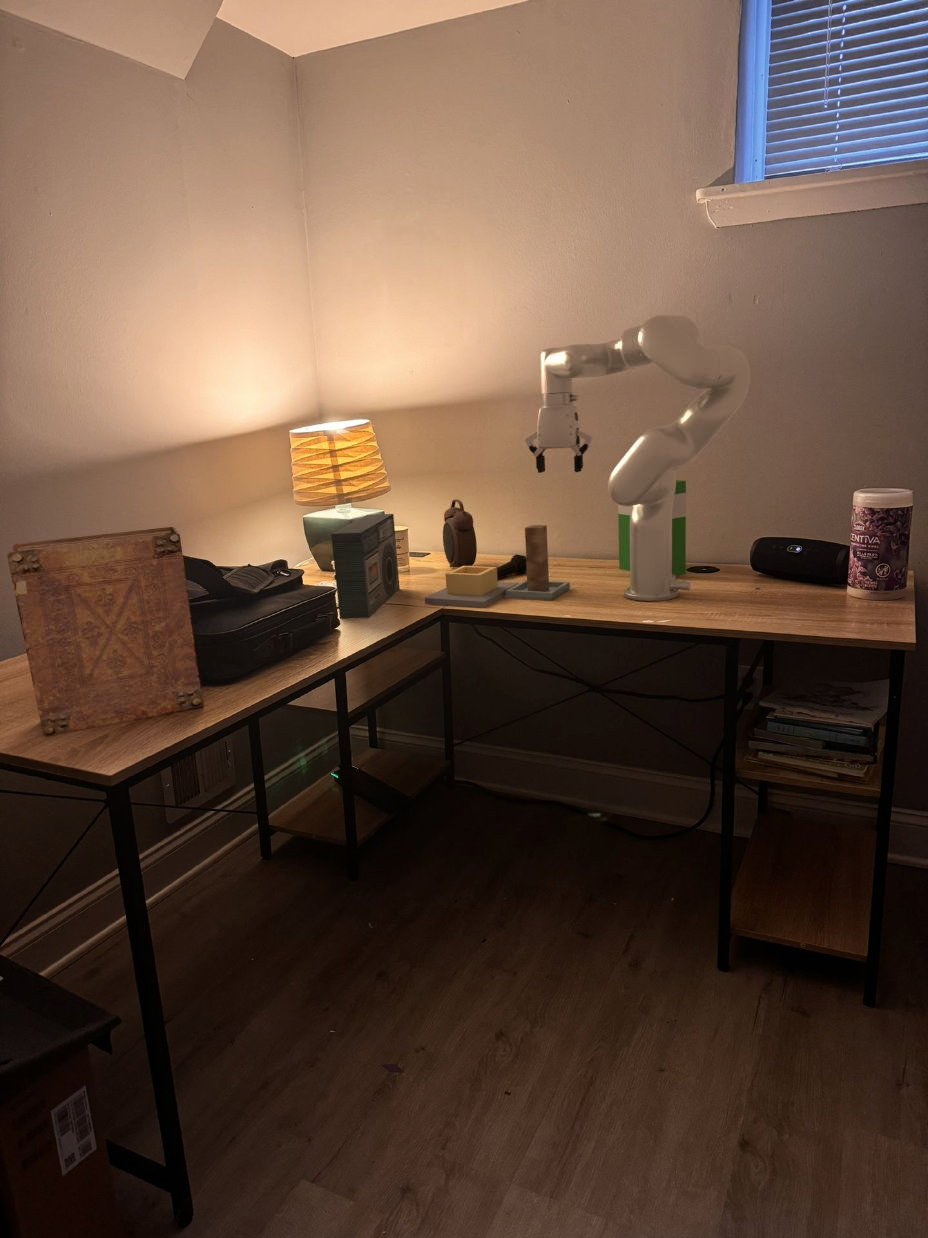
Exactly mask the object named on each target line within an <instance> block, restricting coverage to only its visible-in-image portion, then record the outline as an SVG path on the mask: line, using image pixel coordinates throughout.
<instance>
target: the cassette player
mask: <svg viewBox="0 0 928 1238" xmlns="http://www.w3.org/2000/svg"><path fill="white" fill-rule="evenodd" d="M394 517H395V516H394V513H383V514H382V513H381V514H379V513H378V514H366V515H364V516H363V517H361V518H358V519H357V520H354V521H353V522H351V523H349V524H347V525H345V526H343V527H342V528H339V529H337V530H336V531H334V532H332V533H331V534H330V536H331V546H332V555H333V563H334V575H335V583H336V594H337V603H338V613H339V619H370V617H371V616H372V615H374V614H375V613H376V612H377V611H378V610H379V609H380V608H381V607H382V606H384V604H386V603H387V602H388V601H390V599H391V598H392V597H393V596H394V595H395V594H396V593H397V592H399V590H400V589H401V588H400V577H399V566H398V553H397V552H398V551H397V542H396V541H397V540H396V530H395V528H396V527H395V518H394Z"/></svg>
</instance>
